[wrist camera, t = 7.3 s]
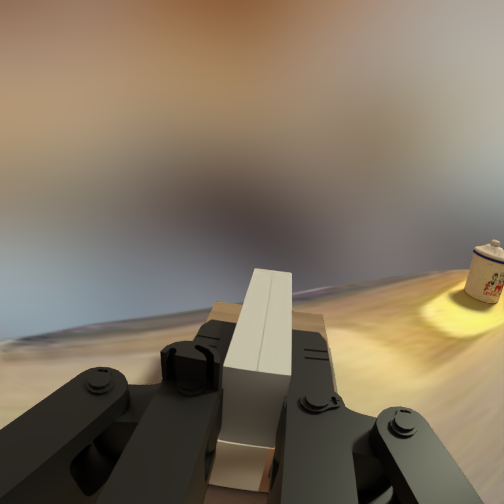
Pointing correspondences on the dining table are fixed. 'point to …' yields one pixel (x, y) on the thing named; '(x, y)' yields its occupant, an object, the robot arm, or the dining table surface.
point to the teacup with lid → (486, 273)
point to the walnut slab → (241, 455)
